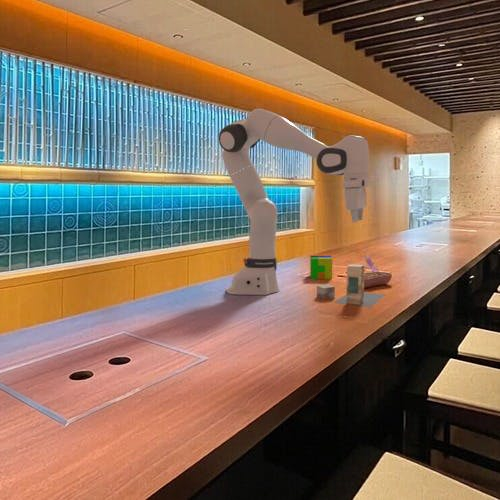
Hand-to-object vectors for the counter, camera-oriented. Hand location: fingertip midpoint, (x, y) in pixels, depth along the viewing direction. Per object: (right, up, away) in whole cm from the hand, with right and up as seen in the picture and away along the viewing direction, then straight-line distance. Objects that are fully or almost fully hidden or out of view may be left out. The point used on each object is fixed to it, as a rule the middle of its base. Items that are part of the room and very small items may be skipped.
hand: (357, 221), depth 167 cm
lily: (+22, -23, +68) cm, 76 cm away
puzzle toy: (-4, -24, +62) cm, 67 cm away
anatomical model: (+15, -27, +40) cm, 50 cm away
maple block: (+1, -30, +9) cm, 31 cm away
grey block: (-9, -30, +17) cm, 35 cm away
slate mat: (+5, -30, +15) cm, 33 cm away
